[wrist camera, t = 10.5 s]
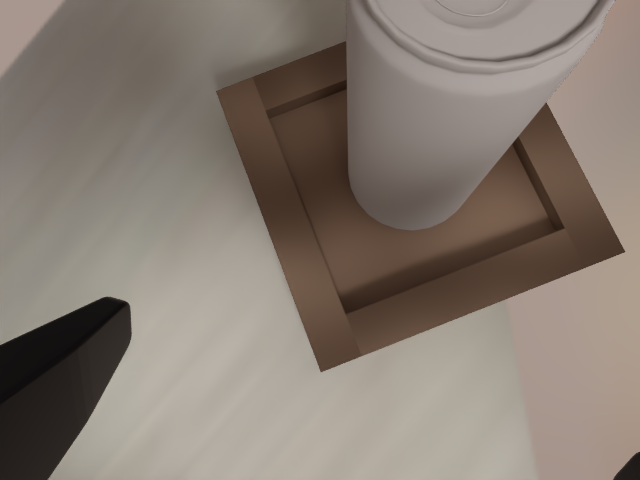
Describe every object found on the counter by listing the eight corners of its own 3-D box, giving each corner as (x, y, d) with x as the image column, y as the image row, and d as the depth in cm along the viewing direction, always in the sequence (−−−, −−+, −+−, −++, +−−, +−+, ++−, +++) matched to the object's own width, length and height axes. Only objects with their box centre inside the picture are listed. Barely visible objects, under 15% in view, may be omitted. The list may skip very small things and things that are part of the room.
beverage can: (326, 199, 20) (294, 2, 8) (382, 101, 21) (424, -207, 9) (435, 255, 19) (563, 124, 8) (488, 152, 20) (682, -112, 8)
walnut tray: (598, 260, 20) (625, 251, 18) (323, 368, 20) (321, 372, 18) (474, 18, 23) (485, -13, 21) (227, 112, 22) (216, 91, 21)
